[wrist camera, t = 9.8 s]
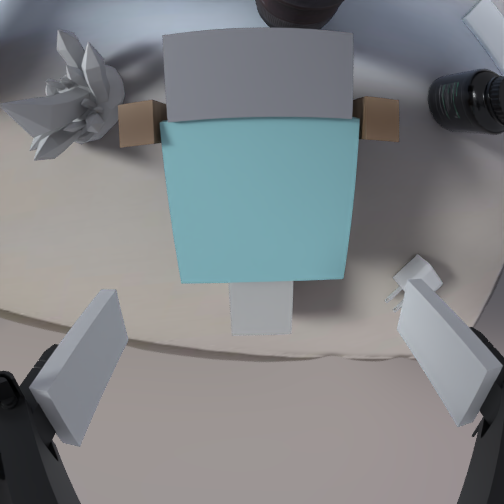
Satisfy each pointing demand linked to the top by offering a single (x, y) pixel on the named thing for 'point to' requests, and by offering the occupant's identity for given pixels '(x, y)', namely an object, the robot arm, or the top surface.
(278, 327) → the plain grey cube
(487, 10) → the external hard drive
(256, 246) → the trapdoor
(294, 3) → the camera lens
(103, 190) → the top surface
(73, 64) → the crystal
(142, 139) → the stand
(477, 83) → the supplement bottle
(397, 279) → the usb wall charger
